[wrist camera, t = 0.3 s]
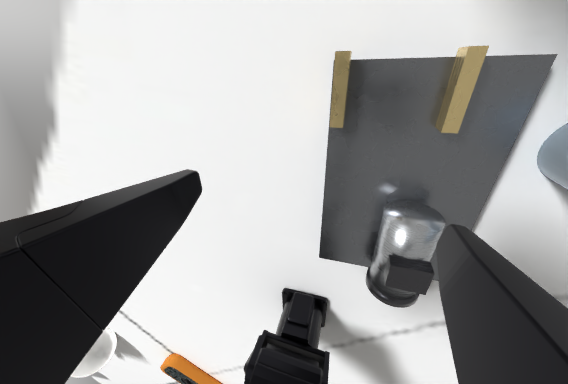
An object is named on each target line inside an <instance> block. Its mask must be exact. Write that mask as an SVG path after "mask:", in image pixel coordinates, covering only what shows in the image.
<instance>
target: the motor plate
mask: <svg viewBox="0 0 568 384" xmlns="http://www.w3.org/2000/svg"><path fill="white" fill-rule="evenodd" d="M488 48H489V46H469V47H462V48H459V49H458V52H457V55H456V57H438V58H402V59H366V60H351V54H352V52H351V51H335V60H334V67H333V80H332V94H331V107H330V120H329V134H328V147H327V160H326V173H325V187H324V200H323V213H322V227H321V240H320V253H319V258H324V259H330V260H335V261H340V262H345V263H350V264H355V265H360V266H365V267H369V268H368V271H367V275H366V284H367V287H368V289H369V290H370V292H371V293H372V294H373V295H374V296H375V297H376V298H377V299H379V300H380V301H382V302H383V303H385V304H387V305H390V306H393V307H401V308H402V307H409V306H411V305H413V304H414V303H415V302H416V301H417V299H418V296H419V294H423V295H426V292H427V290H428V288H429V286H430V283H431V281H432V280H437V281H439V278H438V265H437V251H436V245H437V242H438V240H439V238H440V237H441V235H442V234H443V232H444V231H445V229H446V228H447V226H448V225H450V224H456V225H460V226H465V227H467V228H468V229H469V230H472V227H473V225H474V223H475V221H476V219H477V217H478V215H479V213H480V211H481V209H482V207H483V205H484V203H485V201H486V199H487V197H488V195H489V193H490V191H491V189H492V187H493V185H494V183H495V181H496V179H497V176H498V174H499V172H500V170H501V168H502V166H503V164H504V162H505V160H506V158H507V156H508V154H509V152H510V150H511V148H512V146H513V144H514V142H515V140H516V138H517V136H518V134H519V132H520V130H521V128H522V125H523V123H524V121H525V119H526V117H527V115H528V113H529V111H530V109H531V107H532V105H533V103H534V101H535V99H536V97H537V95H538V93H539V91H540V89H541V87H542V85H543V83H544V81H545V79H546V77H547V74H548V72H549V70H550V68H551V66H552V64H553V62H554V60H555V58H556V56H557V54H547V55H511V56H486V53H487V50H488Z"/></svg>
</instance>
